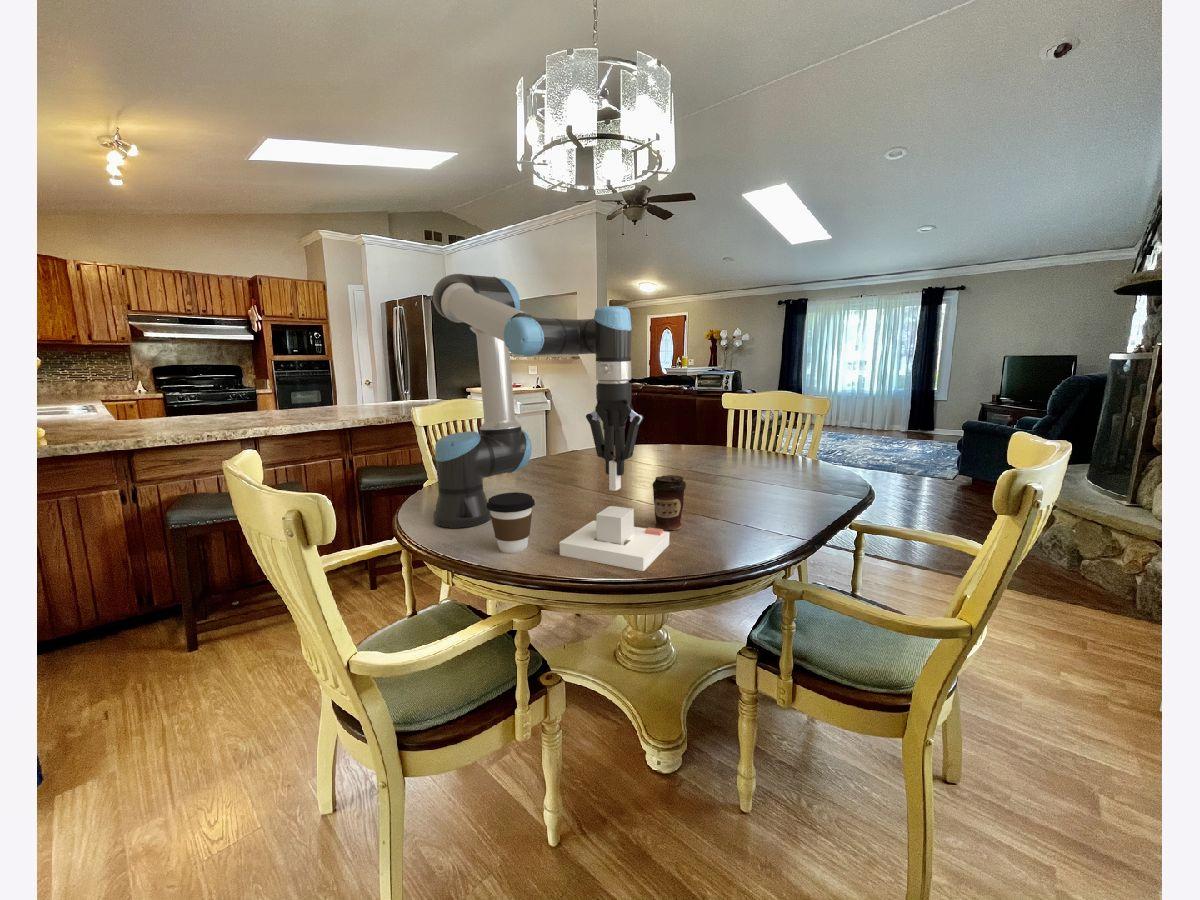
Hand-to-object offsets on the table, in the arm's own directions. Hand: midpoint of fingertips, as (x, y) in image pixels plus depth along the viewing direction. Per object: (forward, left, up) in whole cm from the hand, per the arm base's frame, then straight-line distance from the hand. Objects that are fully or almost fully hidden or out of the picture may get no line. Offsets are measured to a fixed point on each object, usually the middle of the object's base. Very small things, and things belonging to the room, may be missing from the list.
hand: (615, 488), depth 111 cm
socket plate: (0, 0, -14) cm, 14 cm away
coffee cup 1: (-22, -9, -15) cm, 28 cm away
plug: (0, 0, -14) cm, 14 cm away
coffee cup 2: (+6, +19, -15) cm, 25 cm away
